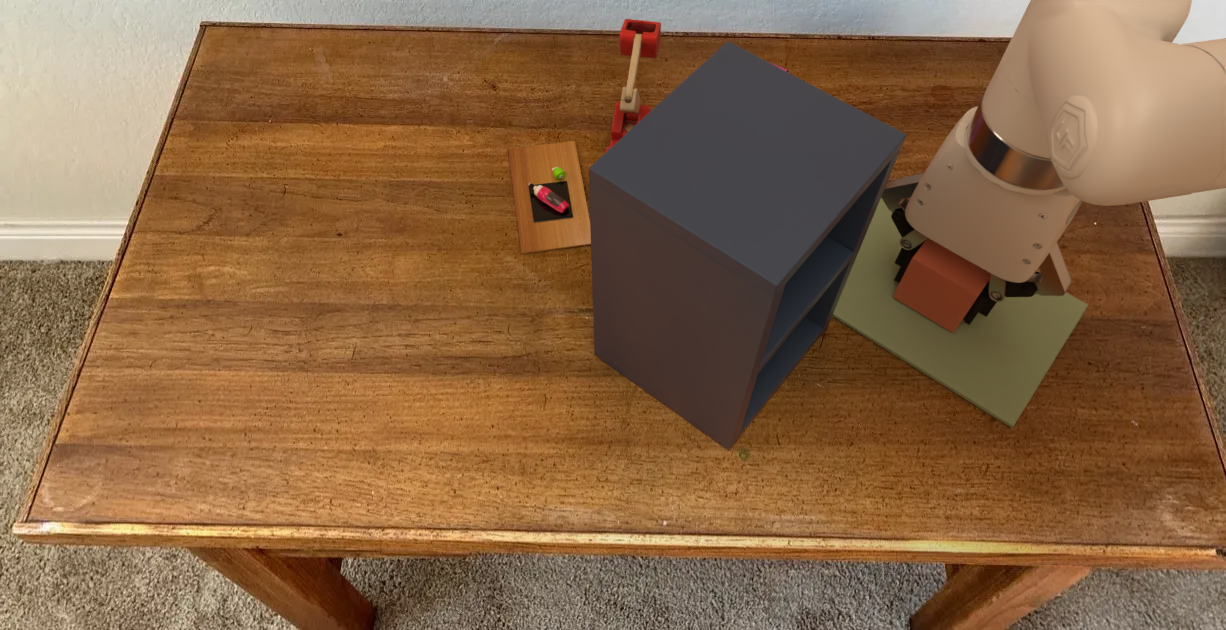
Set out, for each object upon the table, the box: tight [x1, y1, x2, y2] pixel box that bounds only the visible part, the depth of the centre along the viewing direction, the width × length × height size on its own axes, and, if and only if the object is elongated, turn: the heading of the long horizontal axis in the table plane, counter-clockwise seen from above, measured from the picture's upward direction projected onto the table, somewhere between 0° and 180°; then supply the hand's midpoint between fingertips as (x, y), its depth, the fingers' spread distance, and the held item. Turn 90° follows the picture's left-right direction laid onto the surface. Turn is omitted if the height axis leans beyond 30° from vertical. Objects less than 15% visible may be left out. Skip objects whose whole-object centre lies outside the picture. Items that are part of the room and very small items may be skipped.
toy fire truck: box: [604, 18, 662, 154], centre depth 76 cm, size 3×14×10 cm, turn 171°
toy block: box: [893, 238, 990, 333], centre depth 69 cm, size 6×6×6 cm
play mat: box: [832, 198, 1089, 429], centre depth 71 cm, size 20×14×1 cm
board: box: [507, 140, 591, 255], centre depth 76 cm, size 6×12×2 cm, turn 9°
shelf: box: [588, 40, 907, 452], centre depth 60 cm, size 13×14×22 cm
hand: (940, 289), depth 70 cm, fingers closed on toy block, 5 cm apart
